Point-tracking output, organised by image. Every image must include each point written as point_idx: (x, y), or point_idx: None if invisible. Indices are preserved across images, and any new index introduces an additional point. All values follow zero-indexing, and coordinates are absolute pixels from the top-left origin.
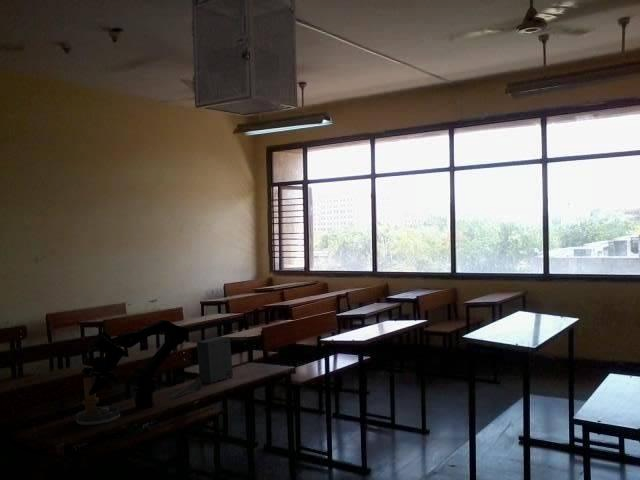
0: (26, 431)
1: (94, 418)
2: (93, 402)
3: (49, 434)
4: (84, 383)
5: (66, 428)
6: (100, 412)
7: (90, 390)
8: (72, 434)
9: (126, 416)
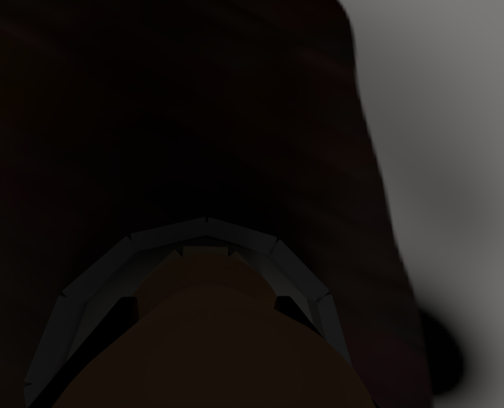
0: (340, 35)
1: (85, 274)
2: None
3: (177, 48)
4: (209, 293)
5: (197, 146)
6: None
7: (114, 336)
8: (43, 96)
9: None
